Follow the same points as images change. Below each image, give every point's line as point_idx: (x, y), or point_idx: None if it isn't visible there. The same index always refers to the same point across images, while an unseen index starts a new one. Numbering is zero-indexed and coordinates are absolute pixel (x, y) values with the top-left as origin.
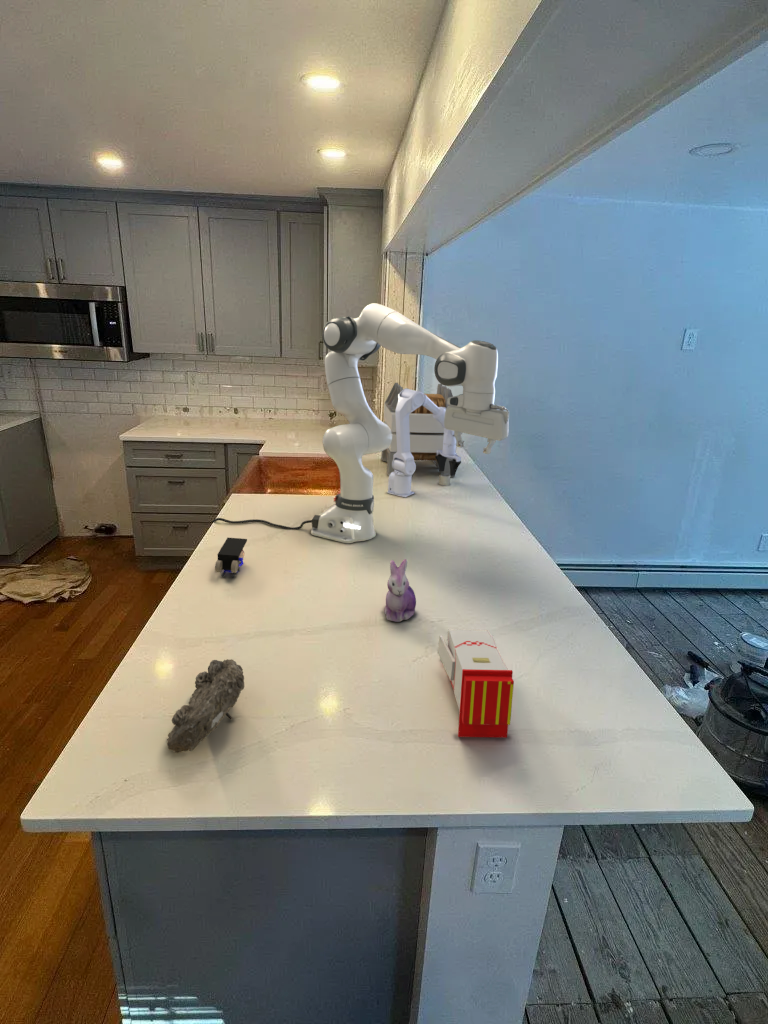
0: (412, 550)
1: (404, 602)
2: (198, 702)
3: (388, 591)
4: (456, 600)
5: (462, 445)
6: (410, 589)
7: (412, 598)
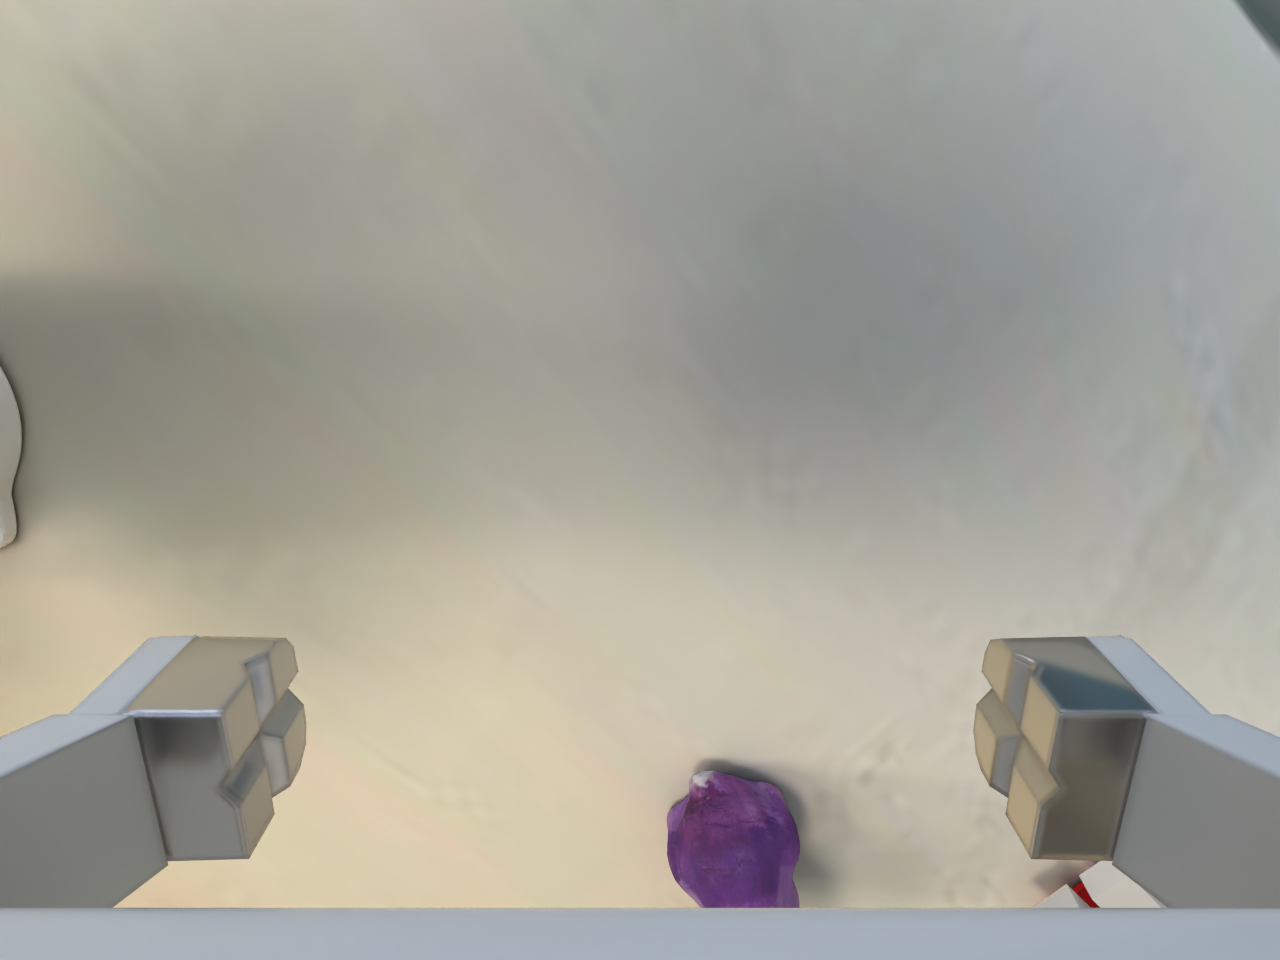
0: (286, 317)
1: None
2: None
3: (687, 893)
4: (838, 588)
5: (277, 701)
6: (770, 868)
7: (794, 861)
